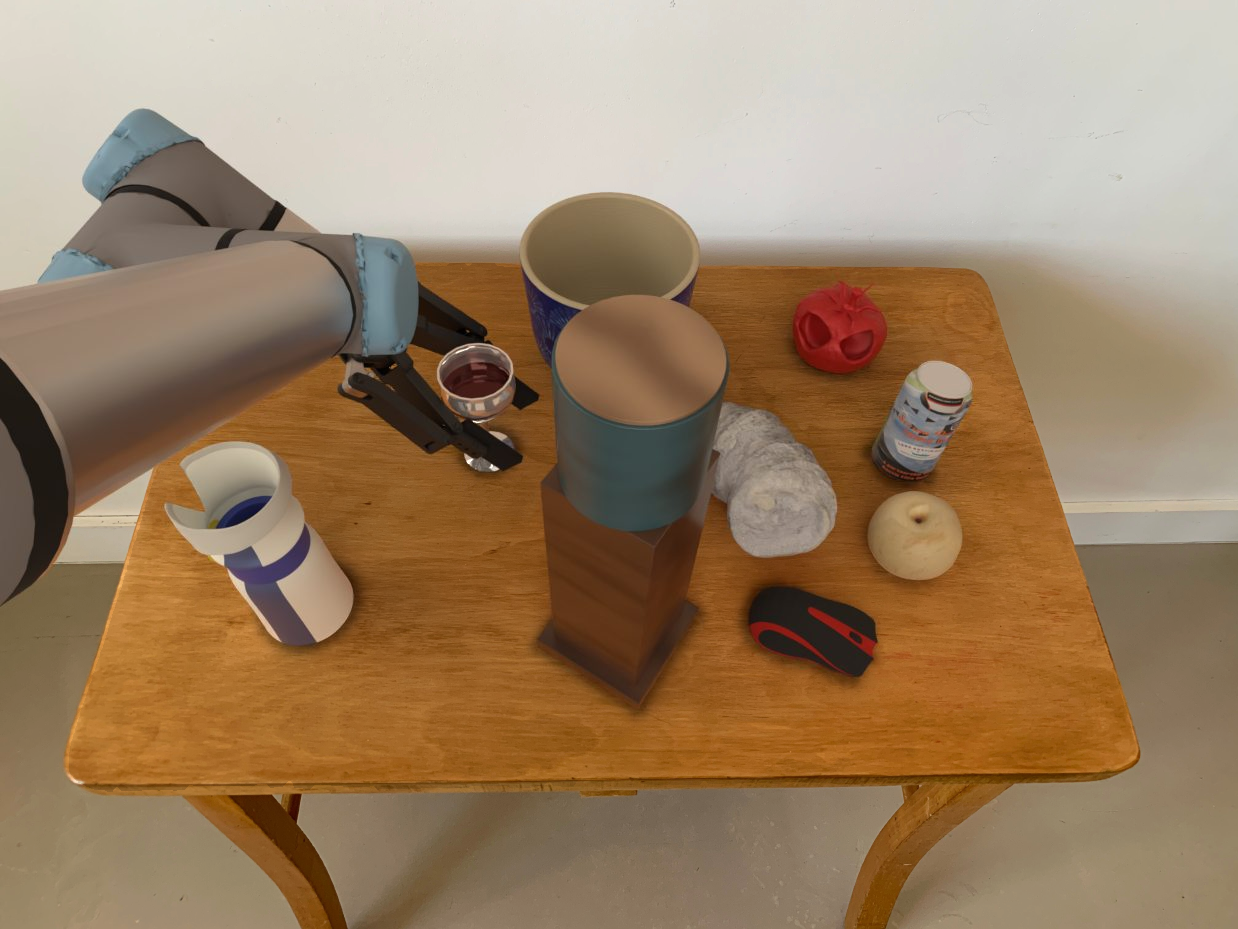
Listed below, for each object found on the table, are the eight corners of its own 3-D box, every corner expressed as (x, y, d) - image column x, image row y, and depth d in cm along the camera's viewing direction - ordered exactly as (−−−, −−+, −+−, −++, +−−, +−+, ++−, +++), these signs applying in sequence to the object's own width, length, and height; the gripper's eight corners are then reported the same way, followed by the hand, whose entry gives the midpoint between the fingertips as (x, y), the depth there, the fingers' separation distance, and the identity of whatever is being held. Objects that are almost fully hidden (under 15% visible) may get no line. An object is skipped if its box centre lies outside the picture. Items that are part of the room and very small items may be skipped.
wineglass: (521, 479, 77) (511, 401, 67) (451, 479, 77) (431, 400, 67) (525, 424, 81) (516, 343, 71) (458, 423, 81) (440, 341, 71)
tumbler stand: (637, 710, 64) (677, 468, 36) (537, 646, 67) (500, 374, 39) (697, 615, 69) (774, 334, 41) (601, 559, 72) (611, 260, 43)
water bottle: (245, 653, 66) (90, 492, 46) (269, 562, 71) (139, 379, 50) (344, 653, 66) (235, 493, 46) (362, 562, 71) (270, 380, 51)
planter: (497, 352, 86) (482, 240, 74) (612, 282, 93) (616, 169, 81) (600, 447, 79) (602, 341, 67) (716, 364, 86) (738, 254, 74)
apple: (967, 585, 71) (963, 571, 65) (875, 585, 75) (862, 572, 68) (961, 501, 74) (957, 479, 67) (872, 505, 77) (860, 485, 70)
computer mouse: (862, 689, 66) (876, 673, 63) (738, 639, 68) (746, 620, 65) (878, 625, 69) (893, 606, 66) (760, 579, 72) (768, 558, 68)
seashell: (652, 432, 81) (659, 366, 72) (792, 426, 82) (815, 361, 74) (669, 573, 72) (680, 516, 63) (827, 565, 73) (858, 508, 64)
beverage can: (864, 480, 78) (904, 404, 68) (873, 425, 82) (911, 345, 72) (928, 497, 77) (978, 422, 67) (934, 440, 81) (981, 361, 71)
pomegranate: (802, 307, 92) (821, 243, 84) (885, 336, 90) (913, 273, 82) (773, 364, 87) (791, 301, 79) (861, 396, 84) (888, 335, 77)
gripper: (327, 225, 71) (518, 370, 83) (235, 391, 60) (471, 530, 72) (371, 181, 66) (567, 342, 79) (280, 352, 55) (525, 508, 67)
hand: (521, 432), depth 75 cm, fingers closed on wineglass, 7 cm apart
